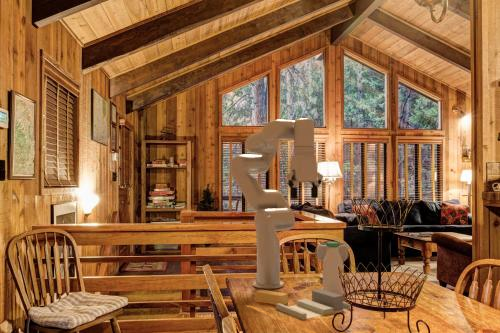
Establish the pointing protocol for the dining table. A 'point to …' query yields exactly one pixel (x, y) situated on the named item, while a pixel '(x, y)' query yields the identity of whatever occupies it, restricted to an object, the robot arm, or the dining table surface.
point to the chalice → (323, 251)
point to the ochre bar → (271, 297)
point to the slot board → (309, 309)
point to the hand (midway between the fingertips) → (304, 198)
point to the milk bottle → (332, 269)
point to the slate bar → (328, 299)
